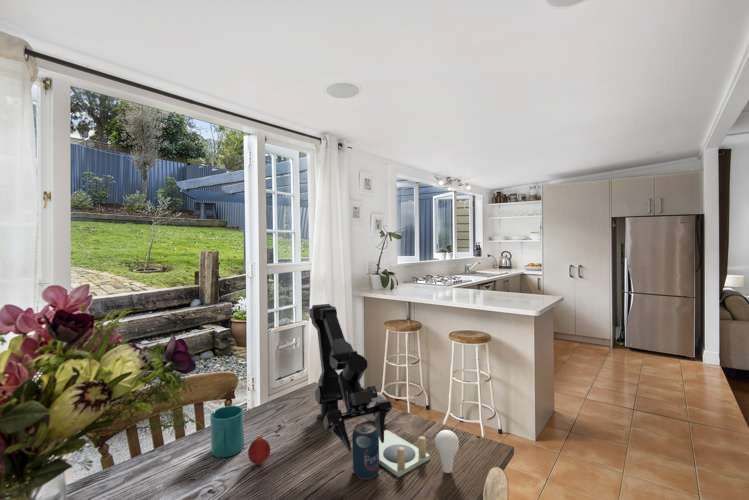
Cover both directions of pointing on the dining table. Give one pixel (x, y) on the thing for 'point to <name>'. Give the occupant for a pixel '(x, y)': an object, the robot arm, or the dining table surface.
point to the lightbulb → (447, 448)
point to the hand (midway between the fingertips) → (366, 446)
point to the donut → (379, 398)
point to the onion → (259, 451)
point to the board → (393, 466)
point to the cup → (227, 431)
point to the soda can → (365, 450)
